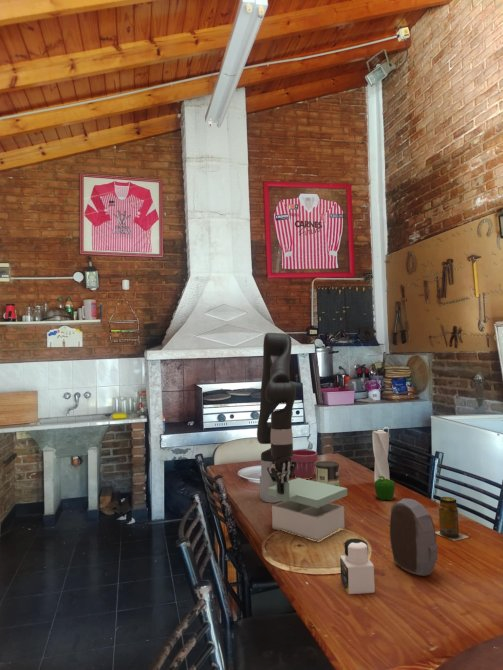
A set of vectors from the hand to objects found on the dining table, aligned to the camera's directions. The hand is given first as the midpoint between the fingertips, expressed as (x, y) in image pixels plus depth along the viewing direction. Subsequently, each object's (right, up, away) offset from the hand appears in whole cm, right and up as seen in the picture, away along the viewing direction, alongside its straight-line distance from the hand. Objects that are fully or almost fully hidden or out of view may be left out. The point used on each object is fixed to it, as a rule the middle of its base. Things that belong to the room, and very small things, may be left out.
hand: (282, 493), depth 156 cm
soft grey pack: (+37, -14, -24) cm, 46 cm away
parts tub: (+10, -16, +9) cm, 21 cm away
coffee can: (+23, -18, +47) cm, 56 cm away
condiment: (+57, -15, +1) cm, 59 cm away
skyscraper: (+51, -18, +58) cm, 79 cm away
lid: (+8, -4, +8) cm, 11 cm away
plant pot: (+16, -19, +79) cm, 83 cm away
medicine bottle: (+18, -14, -33) cm, 40 cm away
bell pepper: (+47, -17, +41) cm, 65 cm away
